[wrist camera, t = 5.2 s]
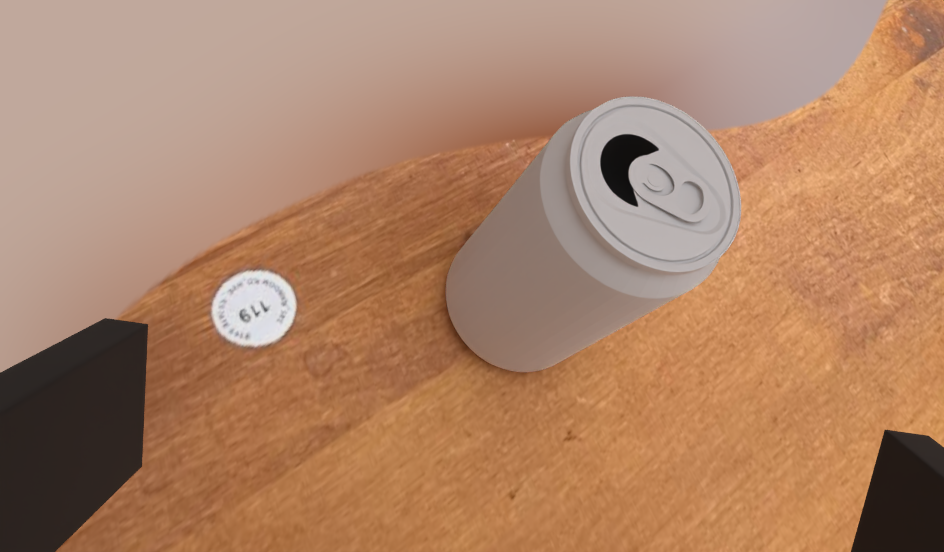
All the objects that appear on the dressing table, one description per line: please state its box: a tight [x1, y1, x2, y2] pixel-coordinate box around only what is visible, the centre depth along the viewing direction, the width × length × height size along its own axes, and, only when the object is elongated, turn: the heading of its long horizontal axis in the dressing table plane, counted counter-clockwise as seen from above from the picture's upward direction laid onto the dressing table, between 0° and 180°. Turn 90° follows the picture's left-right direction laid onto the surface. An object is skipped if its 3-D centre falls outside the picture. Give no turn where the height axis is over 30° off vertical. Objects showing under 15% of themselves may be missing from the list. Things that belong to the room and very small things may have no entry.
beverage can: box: [446, 97, 741, 372], centre depth 27 cm, size 6×6×12 cm
